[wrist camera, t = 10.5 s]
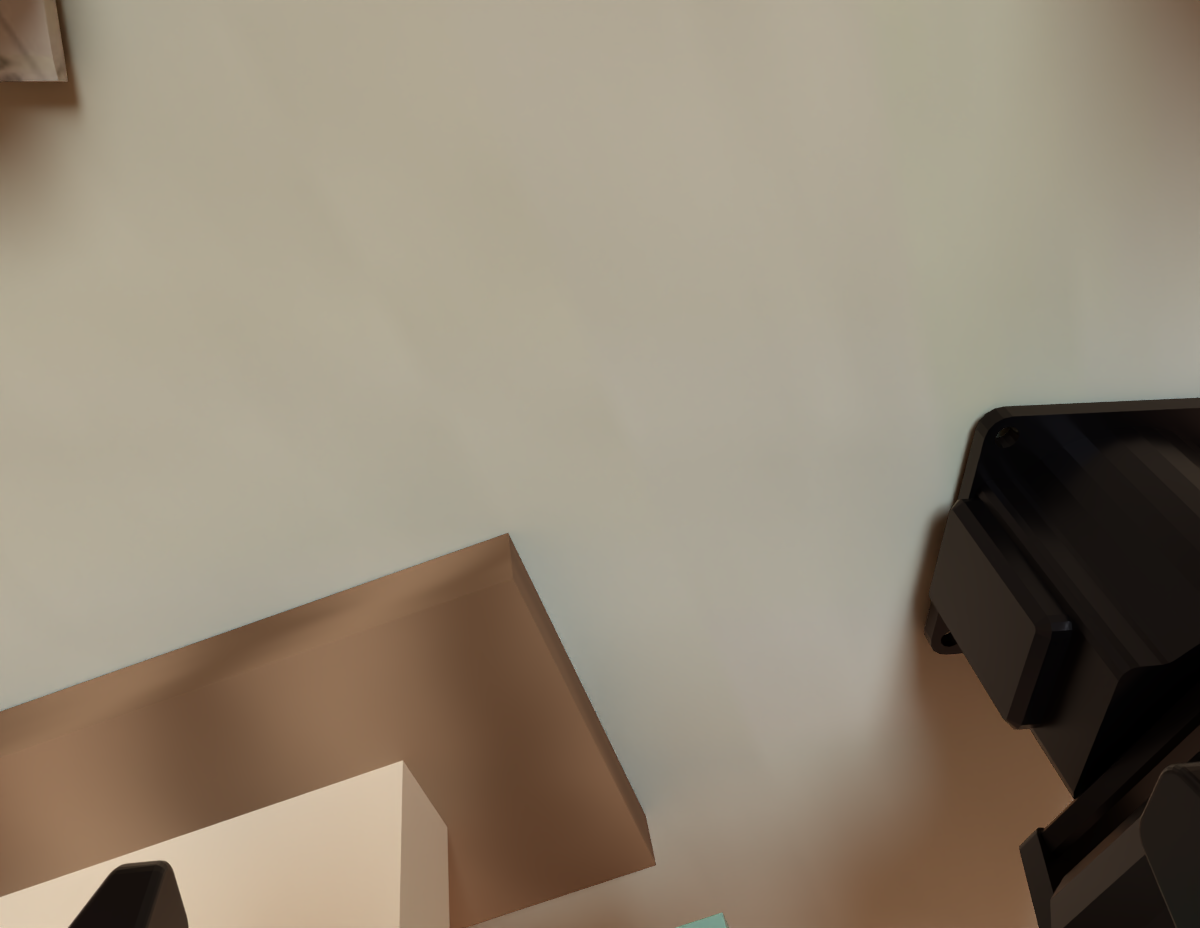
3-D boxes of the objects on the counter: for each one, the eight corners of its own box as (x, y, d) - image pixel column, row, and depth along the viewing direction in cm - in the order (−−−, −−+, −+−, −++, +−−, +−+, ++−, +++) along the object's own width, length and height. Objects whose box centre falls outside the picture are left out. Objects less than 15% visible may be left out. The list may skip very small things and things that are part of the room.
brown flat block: (507, 533, 22) (513, 578, 21) (645, 816, 28) (655, 865, 27) (-138, 760, 23) (-170, 816, 22) (119, 990, 29) (105, 1045, 28)
